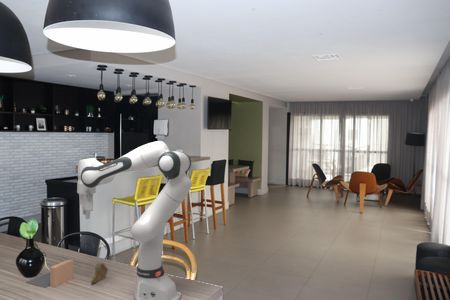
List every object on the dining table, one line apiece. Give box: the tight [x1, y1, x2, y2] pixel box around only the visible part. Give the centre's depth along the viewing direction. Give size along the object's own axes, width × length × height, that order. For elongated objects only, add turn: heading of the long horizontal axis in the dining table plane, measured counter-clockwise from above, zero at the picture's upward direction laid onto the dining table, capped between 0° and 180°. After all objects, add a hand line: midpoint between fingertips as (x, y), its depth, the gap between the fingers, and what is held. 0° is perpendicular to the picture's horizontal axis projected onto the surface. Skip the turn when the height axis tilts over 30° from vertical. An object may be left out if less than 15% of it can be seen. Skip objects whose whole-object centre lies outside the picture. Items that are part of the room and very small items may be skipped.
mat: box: [25, 271, 50, 289], centre depth 188 cm, size 14×16×1 cm
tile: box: [49, 259, 75, 289], centre depth 184 cm, size 3×12×10 cm, turn 157°
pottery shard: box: [90, 262, 109, 285], centre depth 186 cm, size 11×4×10 cm, turn 152°
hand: (86, 216), depth 182 cm, fingers open, 8 cm apart
